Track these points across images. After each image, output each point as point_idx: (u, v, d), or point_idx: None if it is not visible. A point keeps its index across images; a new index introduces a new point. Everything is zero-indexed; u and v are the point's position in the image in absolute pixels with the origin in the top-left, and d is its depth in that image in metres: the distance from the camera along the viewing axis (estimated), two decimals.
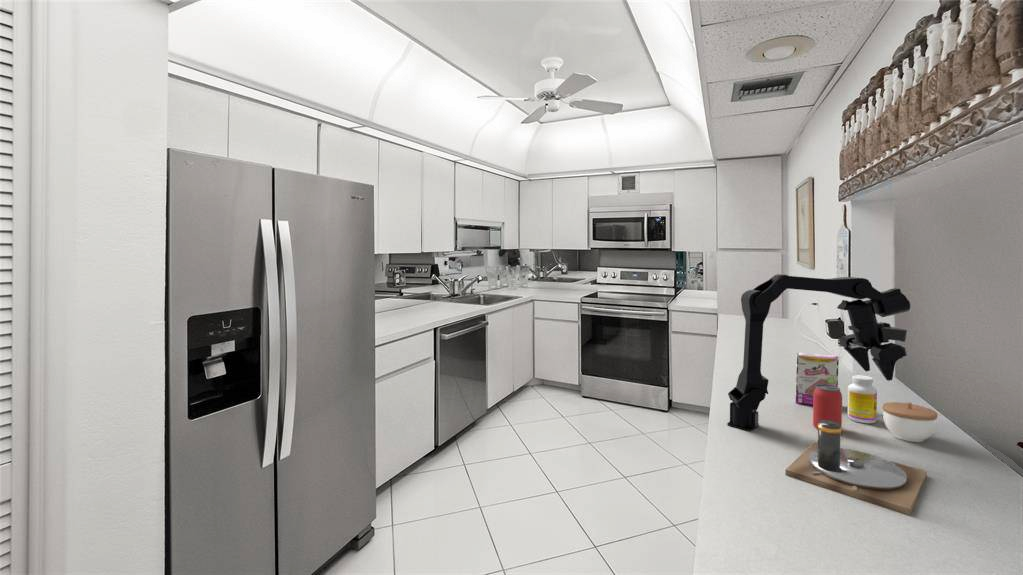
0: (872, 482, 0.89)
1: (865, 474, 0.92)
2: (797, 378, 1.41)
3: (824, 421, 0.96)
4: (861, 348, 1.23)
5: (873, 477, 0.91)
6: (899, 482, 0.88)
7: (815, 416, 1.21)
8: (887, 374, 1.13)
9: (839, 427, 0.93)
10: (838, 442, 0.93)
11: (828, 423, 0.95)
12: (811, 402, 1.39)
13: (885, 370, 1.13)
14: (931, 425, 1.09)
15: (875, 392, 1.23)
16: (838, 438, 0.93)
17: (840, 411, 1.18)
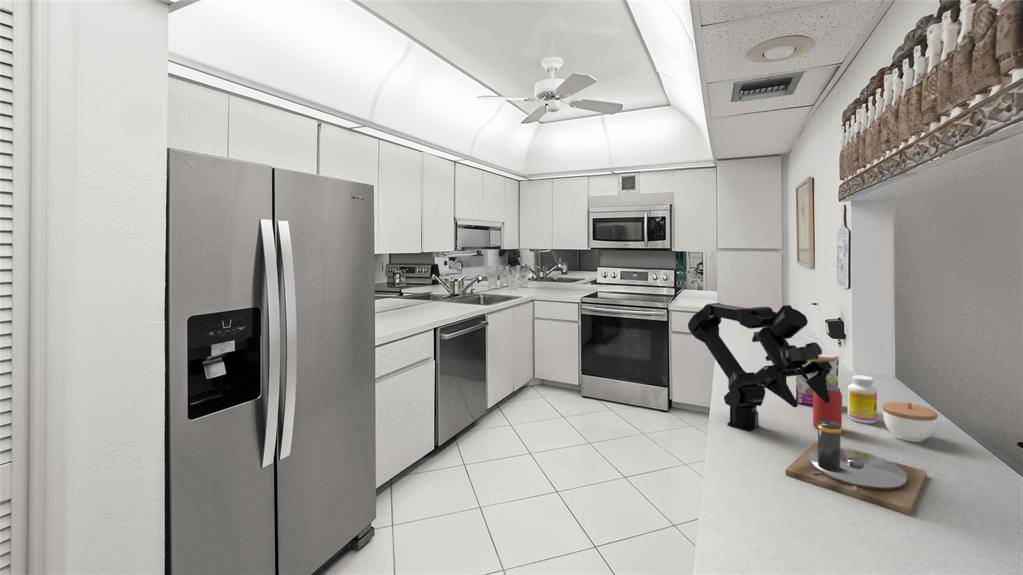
0: (872, 482, 0.89)
1: (865, 474, 0.92)
2: (797, 378, 1.41)
3: (824, 421, 0.96)
4: (814, 377, 1.07)
5: (873, 477, 0.91)
6: (899, 482, 0.88)
7: (815, 416, 1.21)
8: (787, 400, 1.03)
9: (839, 427, 0.93)
10: (838, 442, 0.93)
11: (828, 423, 0.95)
12: (811, 402, 1.39)
13: (782, 396, 1.04)
14: (931, 425, 1.09)
15: (875, 392, 1.23)
16: (838, 438, 0.93)
17: (840, 411, 1.18)
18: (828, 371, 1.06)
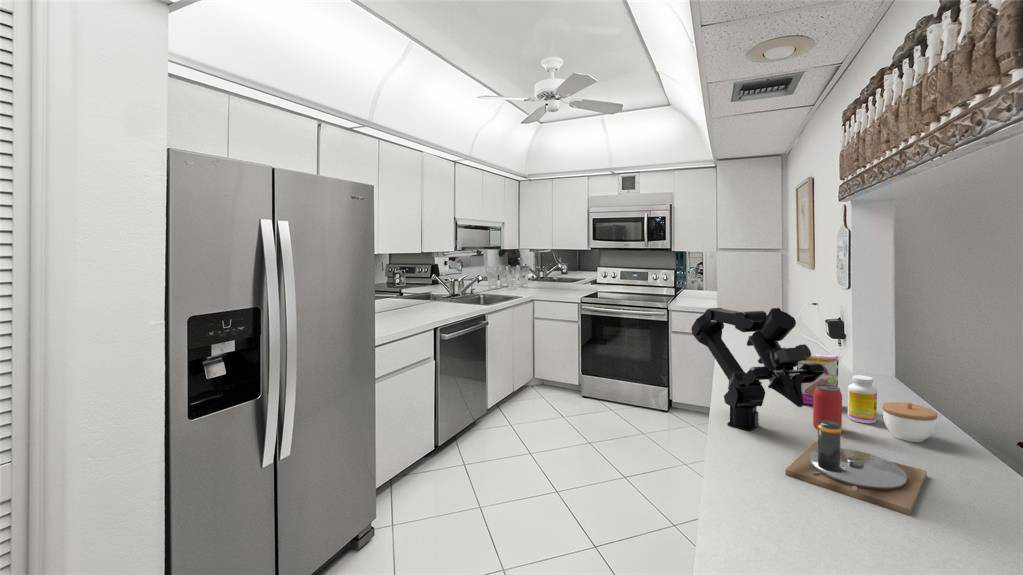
0: (872, 482, 0.89)
1: (865, 474, 0.92)
2: None
3: (824, 421, 0.96)
4: None
5: (873, 477, 0.91)
6: (899, 482, 0.88)
7: (815, 416, 1.21)
8: (792, 400, 1.04)
9: (839, 427, 0.93)
10: (838, 442, 0.93)
11: (828, 423, 0.95)
12: (811, 402, 1.39)
13: (786, 395, 1.05)
14: (931, 425, 1.09)
15: (875, 392, 1.23)
16: (838, 438, 0.93)
17: (840, 411, 1.18)
18: (803, 375, 1.05)
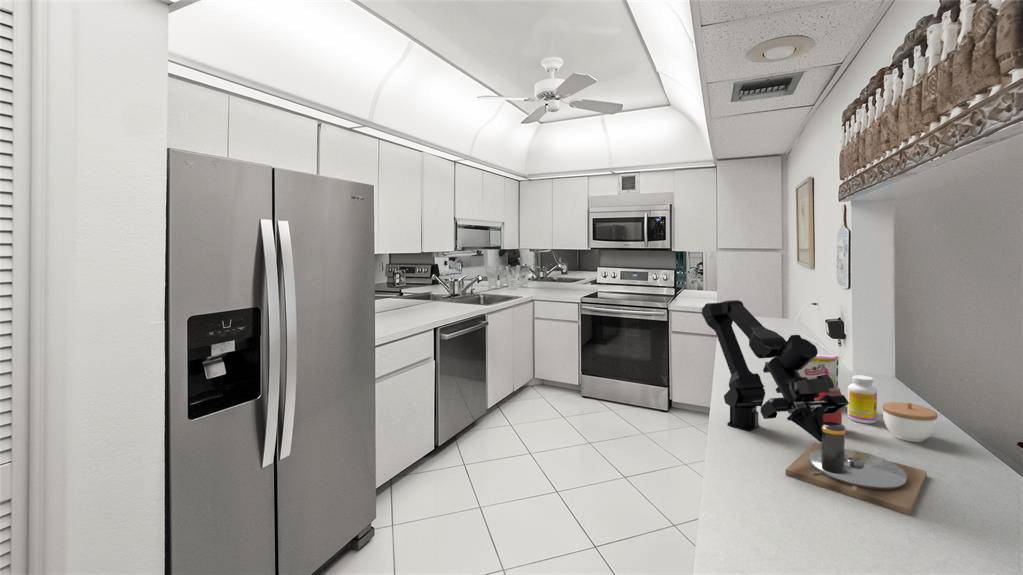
0: (878, 483, 0.88)
1: (868, 474, 0.92)
2: None
3: (827, 422, 0.95)
4: None
5: (877, 477, 0.91)
6: (902, 481, 0.89)
7: None
8: (813, 434, 0.98)
9: (844, 428, 0.92)
10: (843, 444, 0.92)
11: (832, 425, 0.94)
12: None
13: (807, 429, 0.99)
14: (931, 425, 1.09)
15: (875, 392, 1.23)
16: (843, 440, 0.92)
17: (840, 411, 1.18)
18: (825, 407, 0.99)
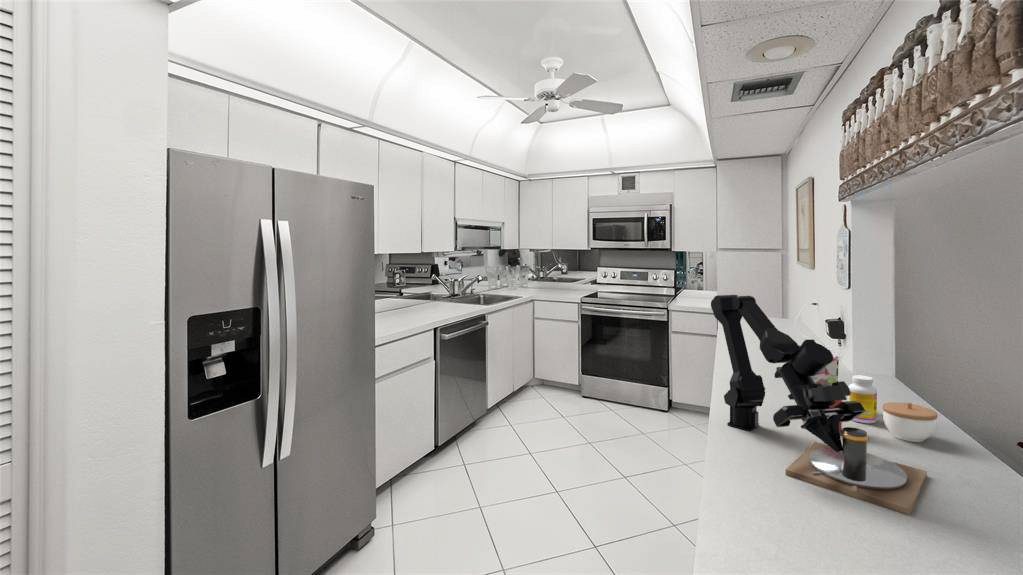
0: (898, 480, 0.89)
1: (879, 473, 0.92)
2: None
3: (846, 429, 0.92)
4: None
5: (887, 473, 0.92)
6: (903, 471, 0.92)
7: None
8: (829, 443, 0.94)
9: None
10: None
11: (854, 431, 0.90)
12: None
13: (822, 438, 0.95)
14: (931, 425, 1.09)
15: (875, 392, 1.23)
16: None
17: None
18: (841, 415, 0.95)
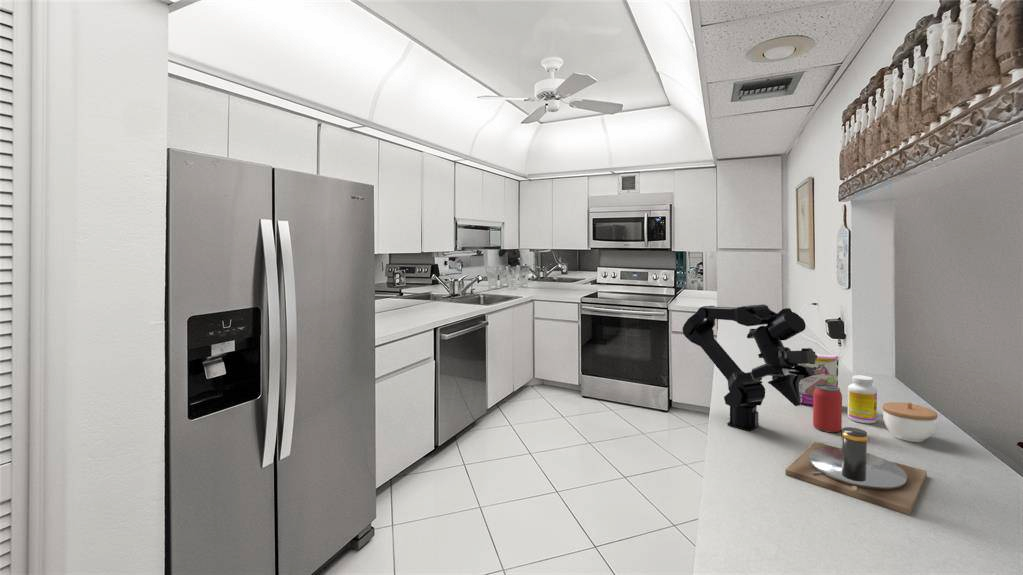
0: (898, 480, 0.89)
1: (879, 473, 0.92)
2: None
3: (846, 429, 0.92)
4: None
5: (887, 473, 0.92)
6: (903, 471, 0.92)
7: (815, 416, 1.21)
8: (790, 398, 1.08)
9: None
10: None
11: (854, 431, 0.90)
12: (811, 402, 1.39)
13: (785, 393, 1.09)
14: (931, 425, 1.09)
15: (875, 392, 1.23)
16: None
17: (840, 411, 1.18)
18: (802, 376, 1.09)
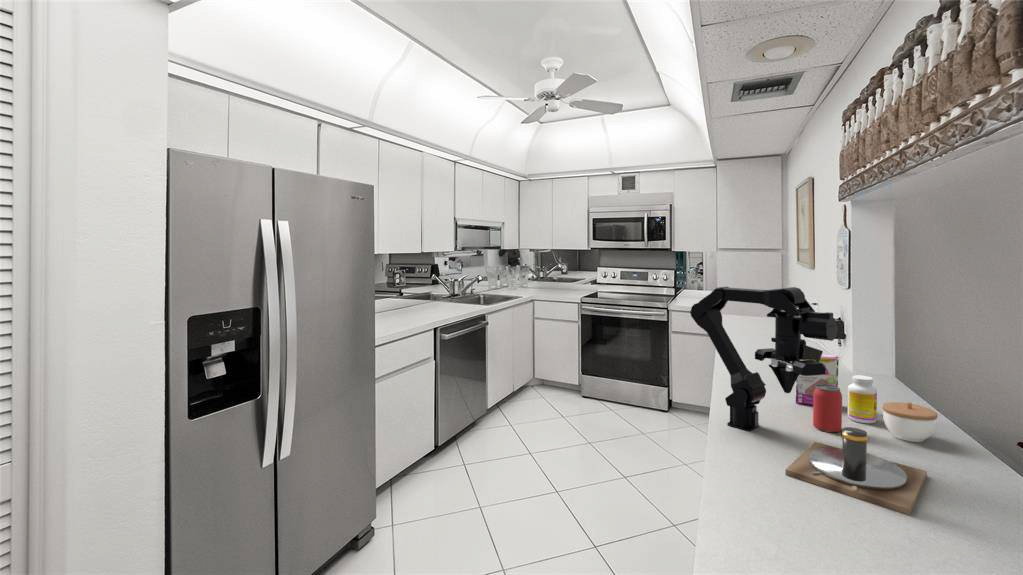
0: (898, 480, 0.89)
1: (879, 473, 0.92)
2: (797, 378, 1.41)
3: (846, 429, 0.92)
4: (786, 367, 1.14)
5: (887, 473, 0.92)
6: (903, 471, 0.92)
7: (815, 416, 1.21)
8: (788, 386, 1.13)
9: None
10: None
11: (854, 431, 0.90)
12: (811, 402, 1.39)
13: (787, 382, 1.12)
14: (931, 425, 1.09)
15: (875, 392, 1.23)
16: None
17: (840, 411, 1.18)
18: None
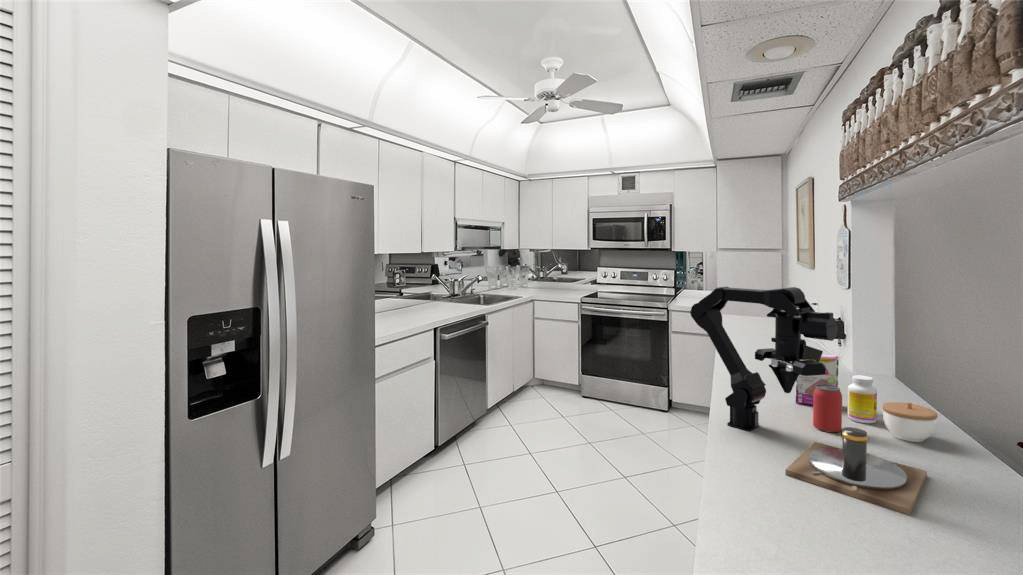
0: (898, 480, 0.89)
1: (879, 473, 0.92)
2: (797, 378, 1.41)
3: (846, 429, 0.92)
4: None
5: (887, 473, 0.92)
6: (903, 471, 0.92)
7: (815, 416, 1.21)
8: (788, 386, 1.13)
9: None
10: None
11: (854, 431, 0.90)
12: (811, 402, 1.39)
13: (787, 382, 1.12)
14: (931, 425, 1.09)
15: (875, 392, 1.23)
16: None
17: (840, 411, 1.18)
18: None
